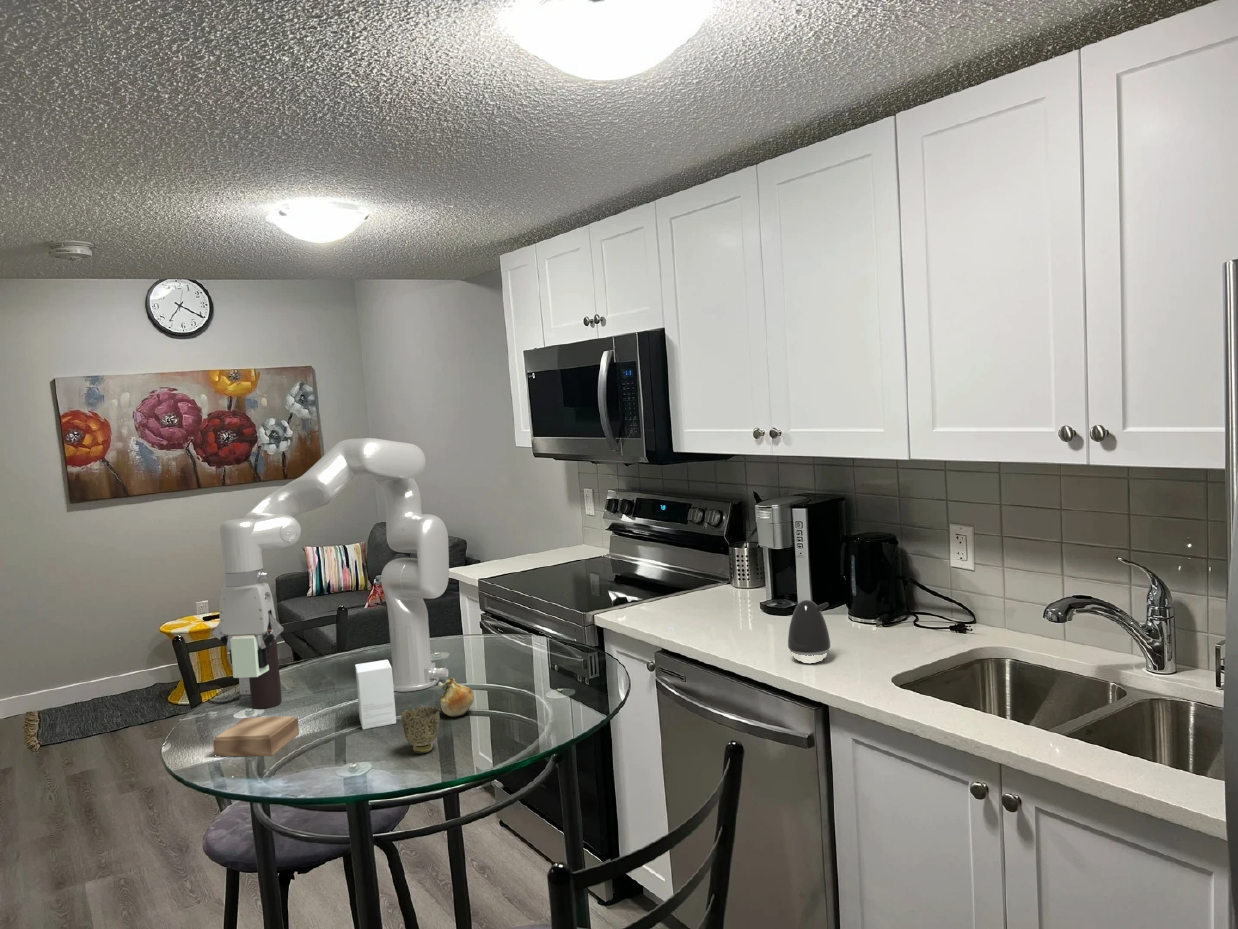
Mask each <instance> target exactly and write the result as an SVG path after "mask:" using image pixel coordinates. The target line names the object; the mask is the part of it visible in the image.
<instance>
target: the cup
mask: <svg viewBox="0 0 1238 929" xmlns="http://www.w3.org/2000/svg"><path fill="white" fill-rule="evenodd" d="M440 711H441V710H440V707H439V708H438V706H436V705H435V706H434V707H432V706H431V705H429V706H428V707H427V706H426V705H423V706H422V707H421V705H419V706H418V707H417V709H415V708H414V707H411V710H409V709H404V712H403V711H402V712H401V715H400V718H401V722H402V727H403V734H404V737H405V740H406V741H407V743H408V744H410V745H412V746H413V747H412V748H413V749H412V750H413V751H414V753H415V754H420V755H421V754H422V755H423V754H427V753H429V752H430V751H431V750H432V749H433V746H434V745H433V743H434V742H435V740H436V739H437V738H438V735H439V732H440V731H439V729H440Z"/></svg>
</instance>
